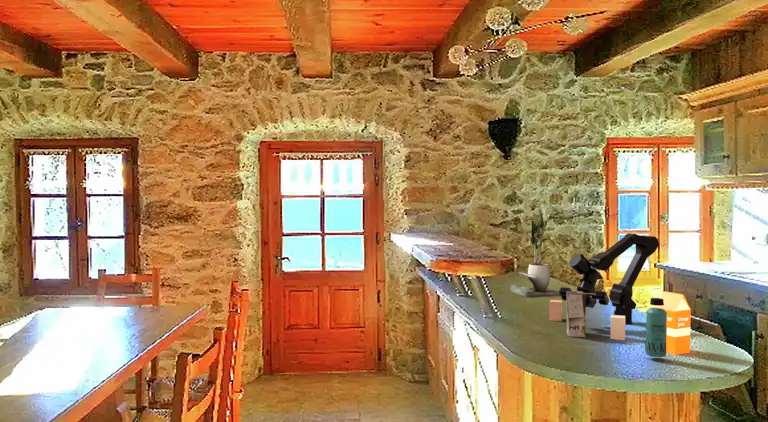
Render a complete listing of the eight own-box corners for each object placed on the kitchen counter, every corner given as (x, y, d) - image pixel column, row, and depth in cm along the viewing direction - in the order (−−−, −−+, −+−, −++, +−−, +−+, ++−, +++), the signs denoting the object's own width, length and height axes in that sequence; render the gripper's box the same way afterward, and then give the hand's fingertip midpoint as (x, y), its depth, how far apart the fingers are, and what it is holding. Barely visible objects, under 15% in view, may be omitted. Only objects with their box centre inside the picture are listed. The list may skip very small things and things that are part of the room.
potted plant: (526, 297, 328) (527, 209, 327) (510, 291, 346) (510, 208, 345) (564, 295, 334) (565, 209, 332) (546, 289, 352) (547, 208, 350)
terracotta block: (562, 319, 273) (562, 300, 272) (561, 321, 268) (561, 302, 268) (550, 318, 274) (550, 299, 274) (549, 320, 269) (549, 301, 269)
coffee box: (585, 337, 238) (586, 294, 238) (567, 336, 240) (568, 293, 239) (583, 332, 247) (583, 290, 247) (565, 331, 249) (566, 290, 248)
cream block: (624, 337, 239) (624, 315, 239) (625, 340, 235) (625, 318, 234) (610, 336, 241) (610, 314, 241) (610, 338, 236) (610, 317, 236)
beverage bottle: (641, 356, 211) (642, 296, 210) (660, 356, 211) (661, 296, 211) (651, 362, 204) (651, 300, 204) (671, 361, 205) (671, 299, 204)
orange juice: (674, 354, 213) (675, 295, 213) (652, 349, 221) (653, 291, 221) (690, 352, 217) (691, 293, 216) (668, 346, 225) (669, 289, 224)
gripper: (616, 296, 257) (606, 328, 248) (571, 291, 268) (560, 322, 260) (609, 279, 250) (599, 311, 242) (564, 274, 262) (552, 305, 254)
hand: (577, 313), depth 250 cm, fingers closed
